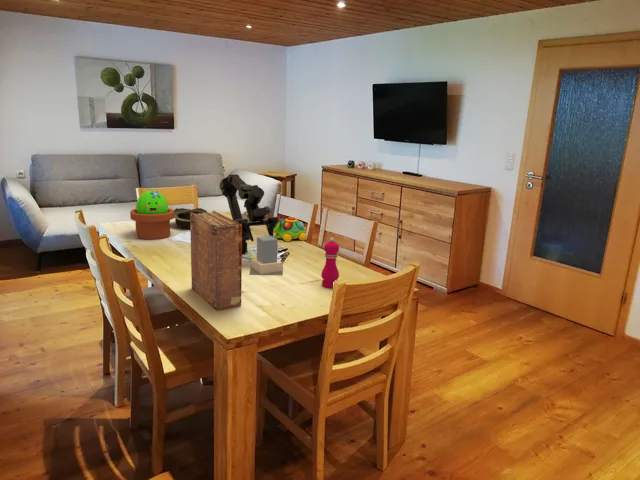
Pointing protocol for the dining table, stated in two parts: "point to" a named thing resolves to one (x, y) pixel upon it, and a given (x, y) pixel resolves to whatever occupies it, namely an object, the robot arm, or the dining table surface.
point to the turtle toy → (290, 229)
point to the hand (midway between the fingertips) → (262, 240)
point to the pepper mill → (330, 264)
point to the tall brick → (267, 249)
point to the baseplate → (253, 272)
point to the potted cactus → (152, 216)
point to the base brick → (266, 266)
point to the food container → (245, 216)
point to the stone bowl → (185, 216)
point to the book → (216, 259)
